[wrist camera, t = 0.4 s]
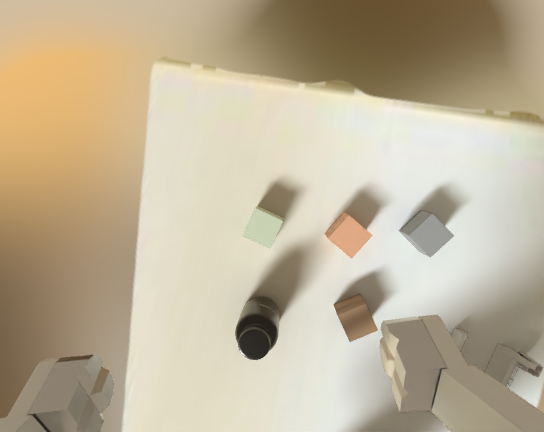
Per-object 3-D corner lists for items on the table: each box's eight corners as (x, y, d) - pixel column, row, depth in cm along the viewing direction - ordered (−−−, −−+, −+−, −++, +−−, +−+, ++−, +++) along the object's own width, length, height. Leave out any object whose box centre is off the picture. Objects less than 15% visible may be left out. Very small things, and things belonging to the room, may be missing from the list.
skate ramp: (453, 326, 63) (468, 339, 58) (522, 351, 63) (543, 367, 58) (420, 399, 65) (432, 418, 60) (488, 424, 65) (505, 445, 60)
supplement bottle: (277, 293, 63) (275, 320, 51) (281, 329, 64) (280, 364, 52) (239, 297, 63) (228, 325, 51) (244, 333, 64) (234, 369, 52)
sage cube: (283, 217, 62) (283, 221, 57) (271, 243, 62) (270, 248, 57) (257, 205, 62) (255, 208, 57) (245, 231, 62) (242, 235, 57)
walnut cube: (370, 318, 63) (377, 330, 58) (344, 329, 63) (349, 342, 58) (359, 293, 63) (365, 303, 58) (333, 304, 63) (337, 315, 58)
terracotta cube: (365, 230, 61) (372, 235, 56) (346, 251, 62) (351, 258, 57) (343, 212, 61) (348, 215, 56) (324, 233, 62) (328, 238, 57)
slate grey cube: (440, 231, 61) (454, 235, 56) (418, 251, 61) (430, 257, 56) (420, 210, 61) (432, 213, 56) (398, 230, 61) (408, 235, 56)
